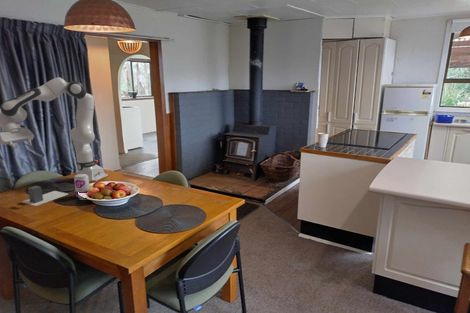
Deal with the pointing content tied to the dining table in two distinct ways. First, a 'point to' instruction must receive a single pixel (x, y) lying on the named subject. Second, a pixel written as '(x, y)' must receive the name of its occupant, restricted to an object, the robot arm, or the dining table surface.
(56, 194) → the post board
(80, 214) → the dining table surface
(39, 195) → the dark grey block
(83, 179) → the supplement can
